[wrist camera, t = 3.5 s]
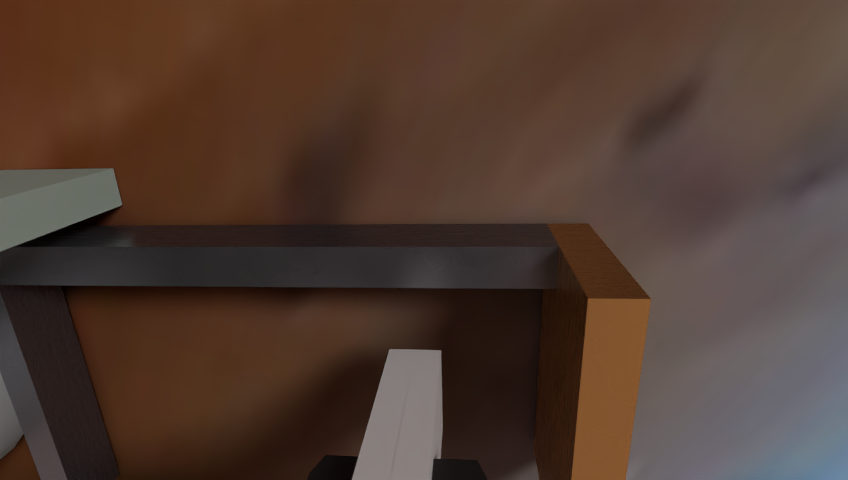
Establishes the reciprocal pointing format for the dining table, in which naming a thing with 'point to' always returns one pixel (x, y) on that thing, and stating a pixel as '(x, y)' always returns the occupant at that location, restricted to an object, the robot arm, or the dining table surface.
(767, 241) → the dining table surface
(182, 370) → the dining table surface
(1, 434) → the can
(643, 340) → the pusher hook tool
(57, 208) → the tunnel
